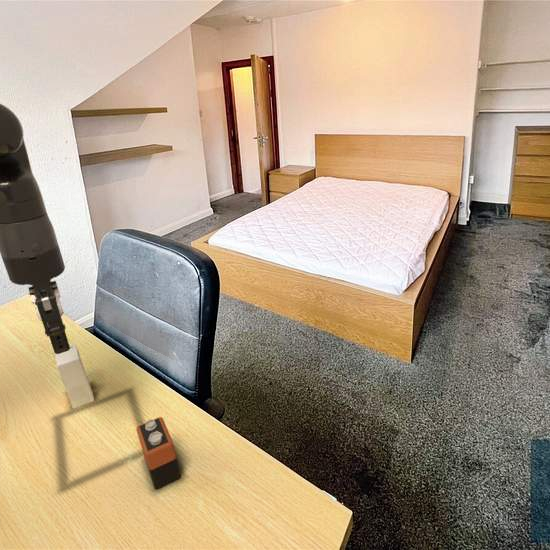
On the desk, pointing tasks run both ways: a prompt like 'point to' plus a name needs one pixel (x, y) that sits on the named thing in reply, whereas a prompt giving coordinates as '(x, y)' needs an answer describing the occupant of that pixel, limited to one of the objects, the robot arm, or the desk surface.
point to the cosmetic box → (74, 377)
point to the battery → (159, 452)
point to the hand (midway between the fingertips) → (59, 339)
